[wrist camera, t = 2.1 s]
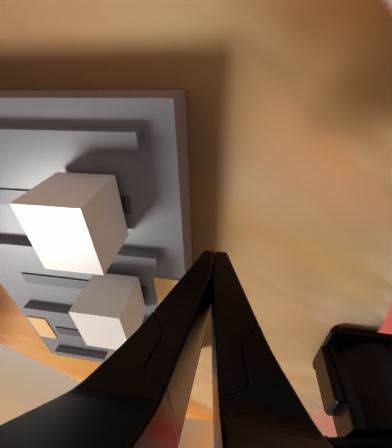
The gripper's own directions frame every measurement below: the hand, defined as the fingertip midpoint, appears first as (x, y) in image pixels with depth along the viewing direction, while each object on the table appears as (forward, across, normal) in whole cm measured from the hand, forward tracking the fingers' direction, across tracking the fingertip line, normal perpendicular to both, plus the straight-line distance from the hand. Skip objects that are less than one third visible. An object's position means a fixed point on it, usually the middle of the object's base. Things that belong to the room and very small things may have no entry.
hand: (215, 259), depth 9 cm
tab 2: (+3, +7, +7) cm, 10 cm away
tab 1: (+3, +7, 0) cm, 7 cm away
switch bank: (+6, +10, +7) cm, 13 cm away
